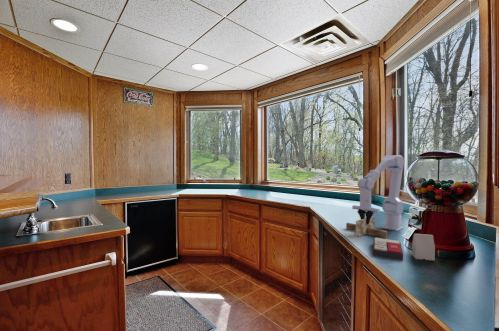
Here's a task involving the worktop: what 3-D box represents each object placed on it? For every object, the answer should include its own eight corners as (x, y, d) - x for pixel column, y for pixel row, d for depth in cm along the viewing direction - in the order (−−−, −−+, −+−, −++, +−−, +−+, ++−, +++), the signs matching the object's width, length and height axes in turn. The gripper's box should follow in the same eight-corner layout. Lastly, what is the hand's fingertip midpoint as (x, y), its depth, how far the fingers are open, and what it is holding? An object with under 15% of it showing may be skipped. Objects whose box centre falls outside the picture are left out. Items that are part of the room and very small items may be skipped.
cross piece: (371, 229, 137) (371, 216, 137) (374, 230, 135) (374, 216, 135) (355, 235, 126) (355, 221, 126) (359, 236, 125) (359, 221, 124)
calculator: (373, 248, 100) (373, 236, 114) (373, 257, 101) (373, 244, 114) (403, 252, 95) (400, 239, 108) (403, 262, 95) (400, 248, 108)
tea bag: (434, 260, 95) (434, 236, 95) (415, 258, 97) (415, 235, 97) (430, 257, 98) (431, 233, 98) (412, 255, 100) (412, 232, 100)
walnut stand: (346, 228, 139) (346, 223, 139) (348, 228, 140) (348, 222, 140) (385, 238, 121) (385, 232, 121) (387, 237, 123) (387, 231, 123)
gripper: (349, 198, 134) (349, 222, 134) (375, 202, 122) (375, 227, 122) (355, 197, 138) (355, 220, 138) (381, 200, 126) (381, 225, 127)
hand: (365, 223), depth 131 cm, fingers closed on cross piece, 2 cm apart
